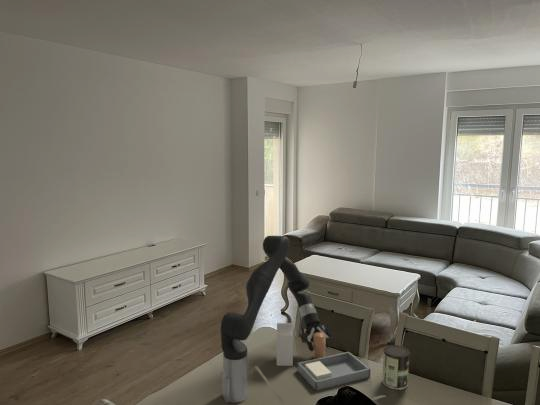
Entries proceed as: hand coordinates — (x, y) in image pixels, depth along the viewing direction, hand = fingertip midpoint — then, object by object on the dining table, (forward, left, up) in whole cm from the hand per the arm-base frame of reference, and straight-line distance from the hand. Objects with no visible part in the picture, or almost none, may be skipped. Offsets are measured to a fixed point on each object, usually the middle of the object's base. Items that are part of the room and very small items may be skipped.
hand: (320, 349), depth 186 cm
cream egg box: (-9, -13, -5) cm, 16 cm away
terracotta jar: (0, +1, -6) cm, 6 cm away
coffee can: (+20, -27, -6) cm, 34 cm away
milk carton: (-16, +4, -6) cm, 18 cm away
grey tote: (-1, -13, -6) cm, 14 cm away
